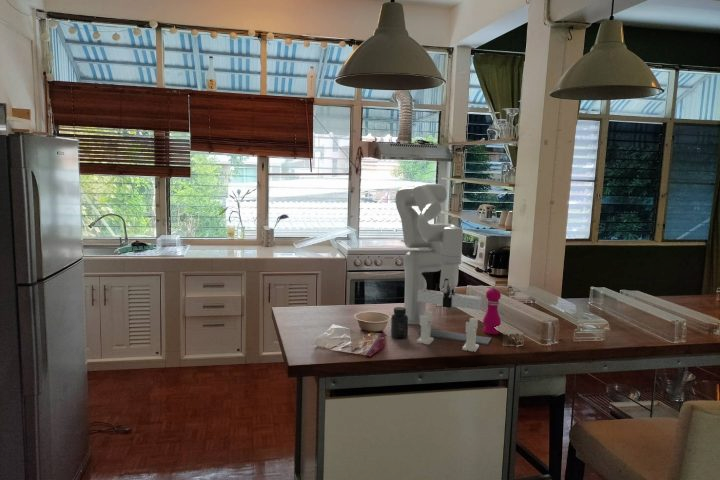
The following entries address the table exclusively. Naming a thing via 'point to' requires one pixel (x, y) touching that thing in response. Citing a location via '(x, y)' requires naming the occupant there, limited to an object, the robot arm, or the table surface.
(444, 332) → the mat
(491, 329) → the pepper mill
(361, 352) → the table surface
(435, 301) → the rail
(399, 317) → the supplement bottle
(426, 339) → the post left
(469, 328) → the post right
